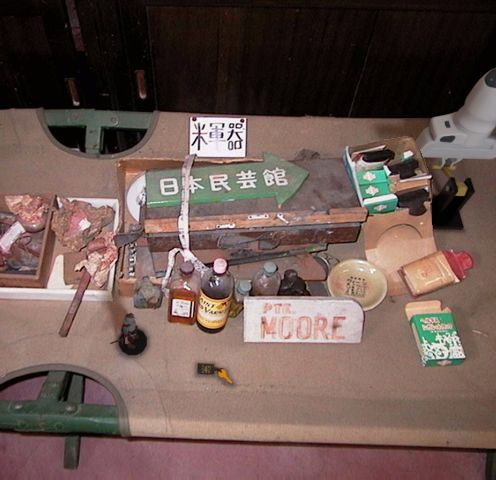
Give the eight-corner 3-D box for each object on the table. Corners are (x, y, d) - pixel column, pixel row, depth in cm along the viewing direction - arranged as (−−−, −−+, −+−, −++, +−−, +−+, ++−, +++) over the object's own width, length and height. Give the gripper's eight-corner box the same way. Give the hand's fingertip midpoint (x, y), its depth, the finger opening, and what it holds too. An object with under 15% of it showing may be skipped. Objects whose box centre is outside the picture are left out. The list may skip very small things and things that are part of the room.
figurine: (142, 359, 119) (138, 335, 106) (112, 351, 120) (104, 326, 107) (150, 332, 123) (147, 305, 110) (121, 324, 124) (114, 297, 111)
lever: (429, 169, 140) (432, 161, 139) (452, 170, 140) (455, 162, 139) (447, 195, 130) (450, 187, 128) (472, 196, 130) (475, 187, 128)
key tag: (195, 373, 117) (196, 372, 117) (199, 360, 119) (199, 359, 118) (231, 383, 116) (231, 383, 116) (234, 371, 118) (235, 370, 117)
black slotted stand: (419, 197, 142) (439, 167, 131) (453, 198, 142) (476, 168, 131) (427, 228, 137) (448, 200, 126) (461, 230, 137) (486, 201, 126)
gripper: (510, 120, 128) (481, 157, 140) (425, 117, 128) (404, 154, 140) (517, 139, 124) (487, 176, 136) (430, 137, 125) (408, 173, 137)
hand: (444, 165), depth 138 cm, fingers closed, pressing on lever
